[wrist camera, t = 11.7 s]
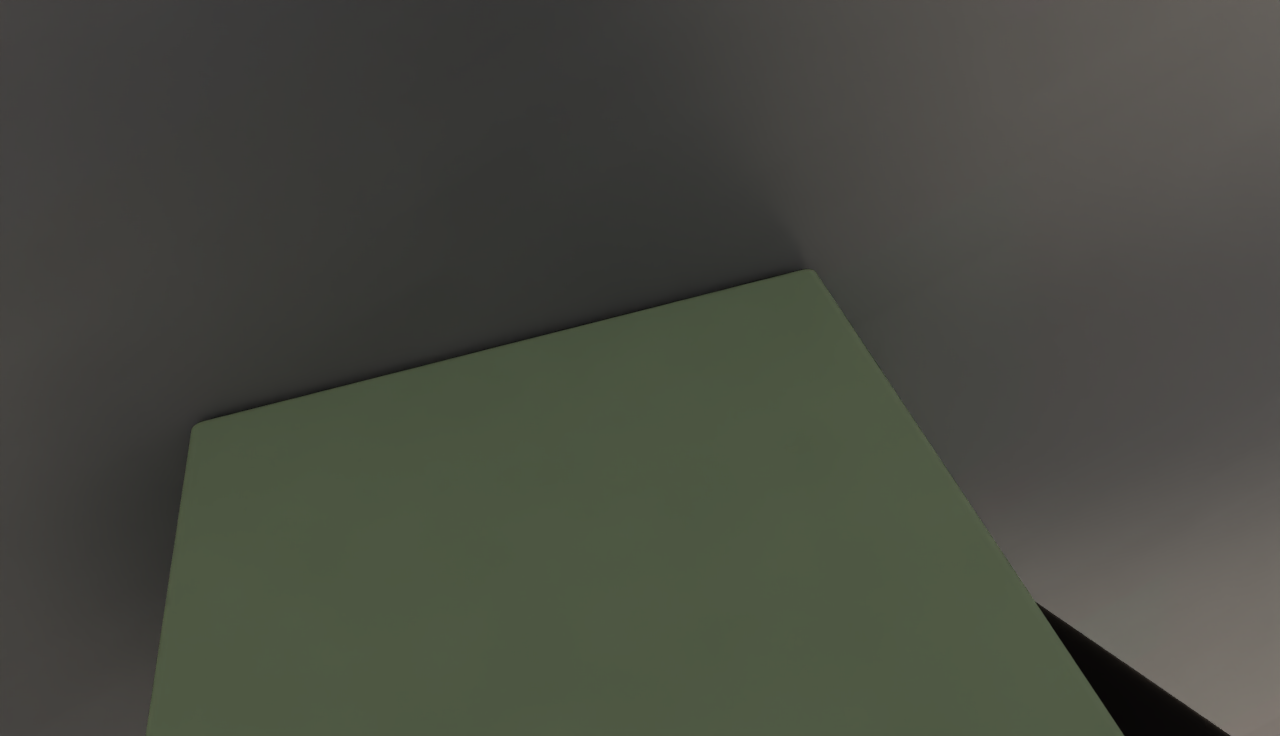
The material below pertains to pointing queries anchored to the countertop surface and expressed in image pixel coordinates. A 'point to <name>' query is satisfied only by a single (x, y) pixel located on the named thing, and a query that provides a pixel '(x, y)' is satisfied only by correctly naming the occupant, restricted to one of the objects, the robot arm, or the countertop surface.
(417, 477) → the block
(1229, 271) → the countertop surface
